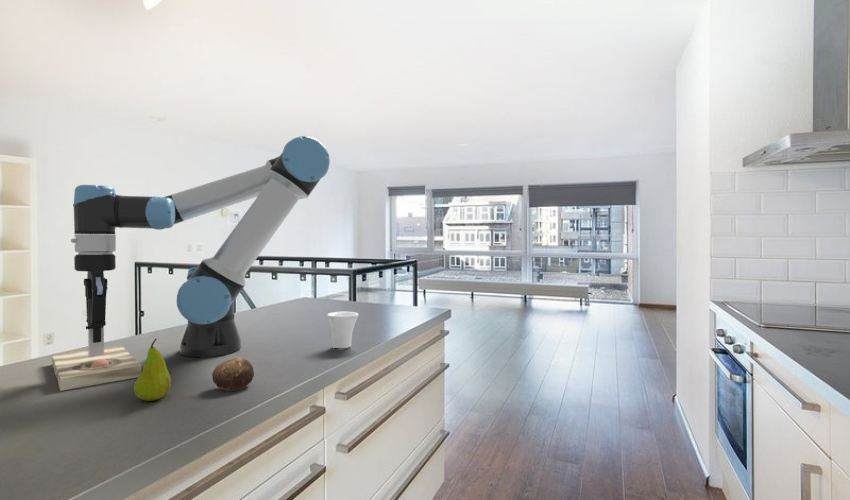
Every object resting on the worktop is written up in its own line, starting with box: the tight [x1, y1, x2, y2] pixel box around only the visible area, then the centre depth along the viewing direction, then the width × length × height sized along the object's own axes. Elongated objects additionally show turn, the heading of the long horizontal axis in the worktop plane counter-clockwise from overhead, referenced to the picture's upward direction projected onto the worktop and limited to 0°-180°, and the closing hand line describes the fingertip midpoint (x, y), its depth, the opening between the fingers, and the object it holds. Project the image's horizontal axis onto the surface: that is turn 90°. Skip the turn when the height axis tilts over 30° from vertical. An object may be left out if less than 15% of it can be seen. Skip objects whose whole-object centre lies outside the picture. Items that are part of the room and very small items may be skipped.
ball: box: [90, 359, 109, 368], centre depth 99 cm, size 4×4×4 cm
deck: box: [51, 344, 142, 392], centre depth 102 cm, size 24×14×2 cm, turn 44°
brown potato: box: [211, 357, 255, 392], centre depth 93 cm, size 8×8×6 cm
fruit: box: [133, 338, 172, 402], centre depth 85 cm, size 6×6×12 cm
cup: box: [326, 311, 359, 349], centre depth 126 cm, size 9×9×10 cm
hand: (96, 355), depth 101 cm, fingers closed
